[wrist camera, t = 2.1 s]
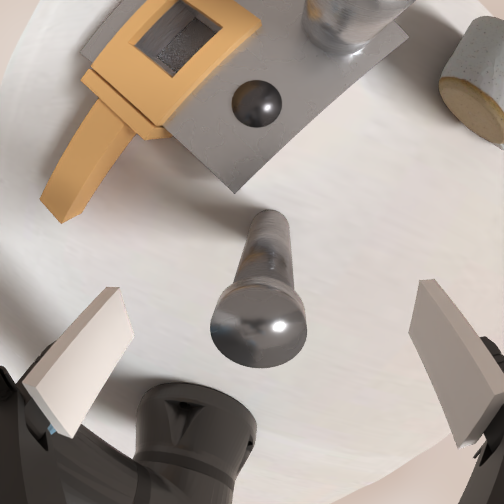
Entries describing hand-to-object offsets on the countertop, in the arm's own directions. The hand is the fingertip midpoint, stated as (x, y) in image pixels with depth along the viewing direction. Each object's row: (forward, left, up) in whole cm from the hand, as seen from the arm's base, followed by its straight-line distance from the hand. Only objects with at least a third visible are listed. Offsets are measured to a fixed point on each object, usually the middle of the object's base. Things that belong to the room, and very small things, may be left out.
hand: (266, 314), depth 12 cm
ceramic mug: (+22, -3, -13) cm, 25 cm away
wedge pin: (0, 0, -12) cm, 12 cm away
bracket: (0, +14, -12) cm, 19 cm away
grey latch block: (+9, +12, -12) cm, 19 cm away
